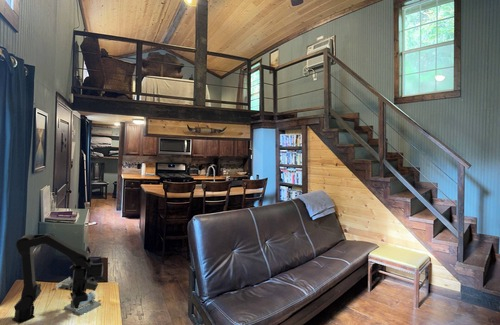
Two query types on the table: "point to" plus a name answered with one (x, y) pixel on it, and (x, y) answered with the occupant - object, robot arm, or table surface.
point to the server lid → (84, 307)
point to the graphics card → (64, 283)
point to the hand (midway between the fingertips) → (76, 308)
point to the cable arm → (90, 297)
